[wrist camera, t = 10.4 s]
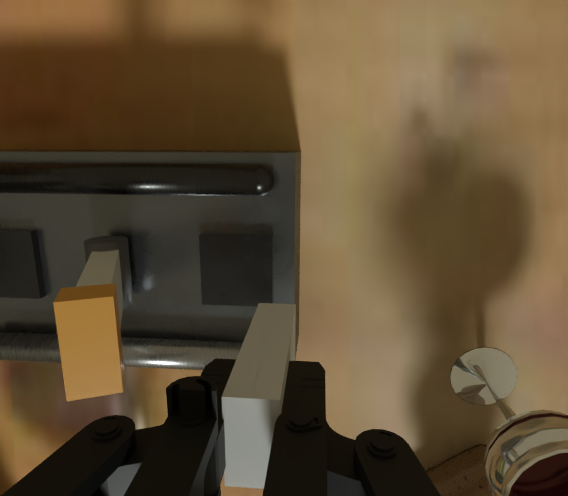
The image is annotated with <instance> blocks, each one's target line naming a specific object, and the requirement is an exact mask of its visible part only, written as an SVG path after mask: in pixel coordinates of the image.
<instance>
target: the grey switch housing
mask: <svg viewBox="0 0 568 496" xmlns="http://www.w3.org/2000/svg"><path fill="white" fill-rule="evenodd" d="M300 183H301V151H174V150H0V360H5V361H25V362H46V363H61V355H60V348H59V341H58V334H57V326H56V319H55V312H54V304H53V302H54V300H55V298H56V297H57V295H58V293H59V291H60V289H61V288H69V287H76V285H77V283H78V281H79V278H80V276H81V274H82V272H83V270H84V268H85V266H86V258H85V250H84V241H85V240H87V239H90V238H94V237H100V236H124V237H127V238H128V246H129V257H130V268H131V280H132V291H133V304H132V305H130V306H129V307H127V308H124V309H123V312H122V320H121V329H120V330H121V340H122V351H123V361H124V366H128V367H148V368H169V369H189V370H204V368H205V366H206V365H207V364H209V363H210V362H211V361H213V360H214V359H215V358H219V359H237V357H238V354H239V352H240V349H241V347H242V344H243V342H244V339H245V337H246V334H247V332H248V329H249V327H250V324H251V321H252V319H253V316H254V314H255V311H256V309H257V306H258V304H259V303H274V304H296V322H295V359H296V351H297V343H298V335H299V268H300Z"/></svg>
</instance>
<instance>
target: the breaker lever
mask: <svg viewBox="0 0 568 496" xmlns="http://www.w3.org/2000/svg"><path fill="white" fill-rule="evenodd" d="M84 250H85V258H86V266H85V268H84V270H83V272H82V274H81V276H80V278H79V281H78V283H77V285H76V287H69V288H61V289H60V291H59V293H58V295H57V297H56V298H55V300H54V302H53V304H54V312H55V319H56V326H57V334H58V341H59V348H60V355H61V363H62V370H63V377H64V384H65V392H66V399H67V401H73V400H79V399H85V398H91V397H97V396H103V395H109V394H116V393H122V392H123V386H124V373H125V371H124V361H123V351H122V340H121V330H120V329H121V320H122V312H123V309H124V308H127V307H129V306H130V305H132V304H133V291H132V280H131V268H130V257H129V246H128V238H127V237H124V236H100V237H94V238H90V239H87V240H85V241H84Z"/></svg>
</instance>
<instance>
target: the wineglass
mask: <svg viewBox="0 0 568 496" xmlns="http://www.w3.org/2000/svg"><path fill="white" fill-rule="evenodd" d="M450 378H451V385H452V387H453V389H454V391H455V393H456V394H457V395H458V396H459V397H460V398H461V399H462V400H465V401H467V402H469V403H471V404H477V405H487V404H493V403H495V402H496V403H497V404H498V406H499V408H500V409H501V411H502V413H503V414H504V416H505V418H506V421H505V422H503V423H502V424H501V425H499V426H498V427H497V428H496V429H495V430H494V432H493V433H492V435H491V436H490V437H489V439H488V440H487V444H486V447H485V451H484V459H483V463H484V472H485V479H486V482H487V486H488V489H489V491H490V493H491V495H492V496H568V415H566V414H563V413H561V412H555V411H549V410H535V411H526V412H523V413H521V414H518V415H516V414H515V413H514V411H513V410H512V409H511V408H510V406H509V405H508V404H507V403H506V401H505V400H504V399H503V398H504V397H506V396H507V395H508V394H509V393H510V392H511V390H512V389H513V388H514V386H515V383H516V379H517V369H516V366H515V364H514V362H513V360H512V359H511V358H510V357H509V356H508V355H507V354H506V353H504V352H502V351H500V350H498V349H493V348H487V347H485V348H477V349H474V350H471V351H469V352H467V353H465V354H464V355H462V356H461V357H460V358H459V359H458V360H457V361H456V363H455V364H454V366H453V367H452V372H451V376H450Z"/></svg>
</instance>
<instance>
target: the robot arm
mask: <svg viewBox="0 0 568 496" xmlns="http://www.w3.org/2000/svg"><path fill="white" fill-rule="evenodd" d="M295 322H296V304H274V303H259V304H258V306H257V309H256V311H255V314H254V316H253V319H252V321H251V324H250V327H249V329H248V332H247V334H246V337H245V339H244V342H243V344H242V347H241V349H240V352H239V354H238V357H237V359H219V358H215V359H214V360H213V361H211V362H210V363H209V364H207V365H206V366H205V368H204V370H203V372H202V374H201V376H192V377H185V378H182V379H178V380H177V381H175V382H173V383H171V384H170V385H169V386H168V387H167V388H166V395H167V408H168V417H167V419H166V421H165V423H164V424H163V425H160V426H155V427H151V428H144V429H138V430H135V424H134V422H133V421H132V419H130V418H128V417H126V416H119V415H114V416H107V417H103V418H101V419H98V420H95V421H93V422H92V423H90V424H89V425H87V426H86V427H84V428H83V429H82V430H81V431H80V432H78V433H77V434H76V435H75V436H73V437H72V438H71V439H70V440H69V441H67V442H66V443H65V444H64V445H63V446H61V447H60V448H59V449H58V450H56V451H55V452H54V453H53V454H52V455H50V456H49V457H48V458H47V459H45V460H44V461H43V462H42V463H41V464H39V465H38V466H37V467H36V468H34V469H33V470H32V471H31V472H30V473H28V474H27V475H26V476H25V477H24V478H22V479H21V480H20V481H19V482H17V483H16V484H15V485H14V486H13V487H11V488H10V489H9V490H8V491H6V492H5V493H4V494H3V495H2V496H221V489H220V484H221V480H222V477H223V474H224V476H225V486H233V487H246V488H260V489H264V491H263V496H441V495H440V494H439V492H438V490H437V489H436V487H435V486H434V484H433V482H432V481H431V479H430V478H429V476H428V475H427V473H426V471H425V470H424V468H423V467H422V465H421V463H420V462H419V460H418V459H417V457H416V456H415V454H414V452H413V451H412V449H411V448H410V446H409V444H408V443H407V442H406V441H405V440H404V439H403V438H402V437H400V436H398V435H397V434H395V433H393V432H390V431H386V430H381V429H371V430H367V431H364V432H362V433H361V434H359V435H358V436H357V437H356V440H353V439H350V438H347V437H344V436H342V435H340V434H338V433H336V432H335V431H334V430H332V429H331V428H330V427H329V425H328V423H327V421H326V407H325V370H324V368H323V367H322V366H321V364H320V363H319V362H307V361H295Z"/></svg>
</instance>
